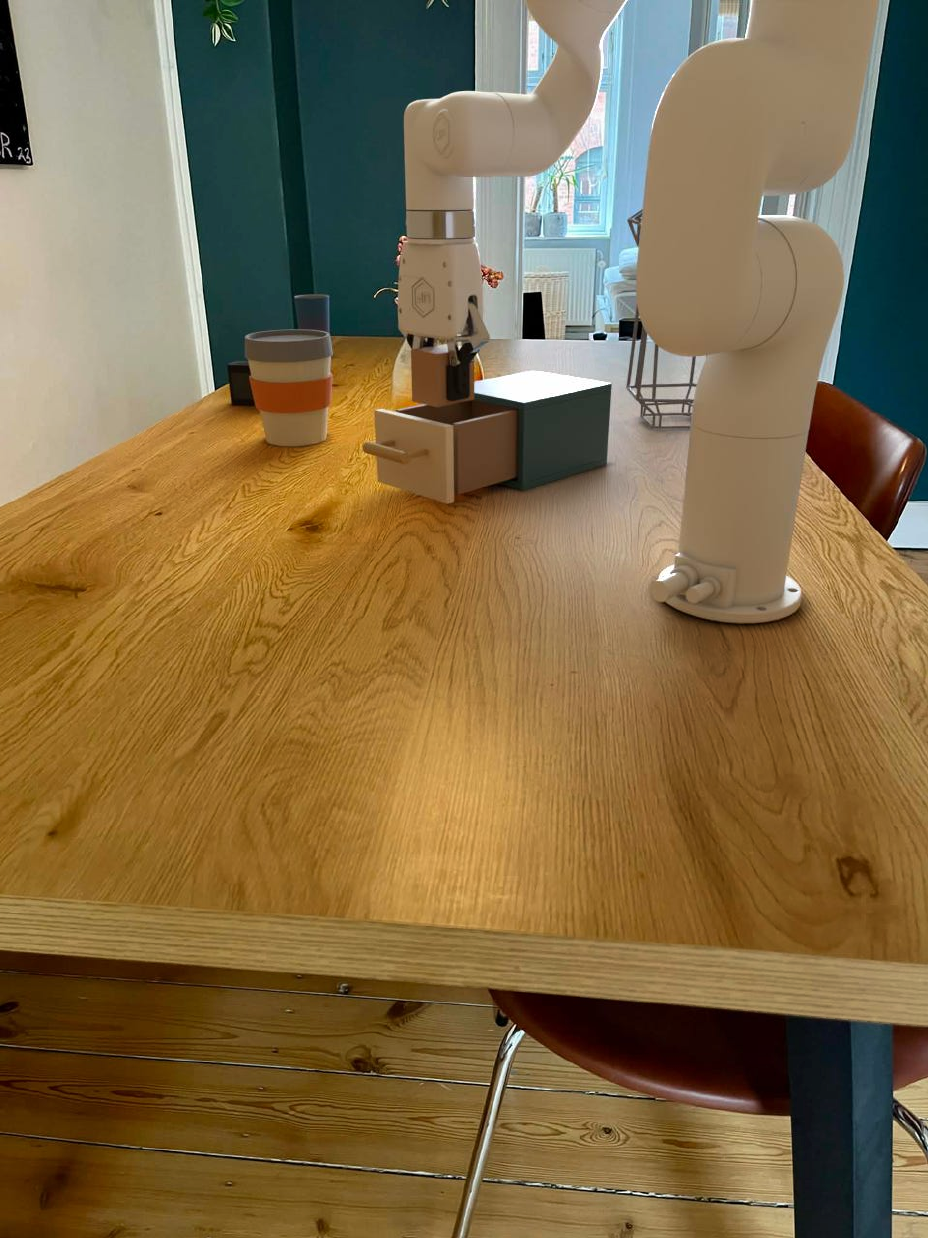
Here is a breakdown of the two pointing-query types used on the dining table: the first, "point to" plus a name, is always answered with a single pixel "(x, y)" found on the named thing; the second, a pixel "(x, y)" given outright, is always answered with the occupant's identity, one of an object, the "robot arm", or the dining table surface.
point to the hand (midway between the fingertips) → (442, 394)
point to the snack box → (433, 376)
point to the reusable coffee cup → (291, 384)
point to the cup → (312, 312)
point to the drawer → (445, 447)
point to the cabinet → (553, 423)
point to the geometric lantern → (641, 364)
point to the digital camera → (240, 383)
